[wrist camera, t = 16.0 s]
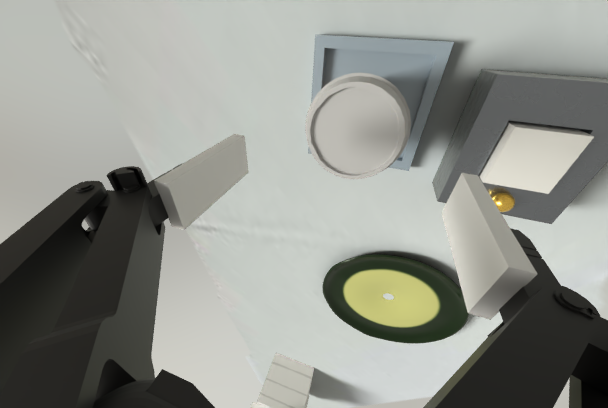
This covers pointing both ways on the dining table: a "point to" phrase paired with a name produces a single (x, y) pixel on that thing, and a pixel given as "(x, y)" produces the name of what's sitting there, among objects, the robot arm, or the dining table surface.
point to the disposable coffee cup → (357, 125)
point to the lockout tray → (387, 73)
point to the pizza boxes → (286, 384)
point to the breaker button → (533, 155)
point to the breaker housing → (532, 109)
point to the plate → (395, 299)
